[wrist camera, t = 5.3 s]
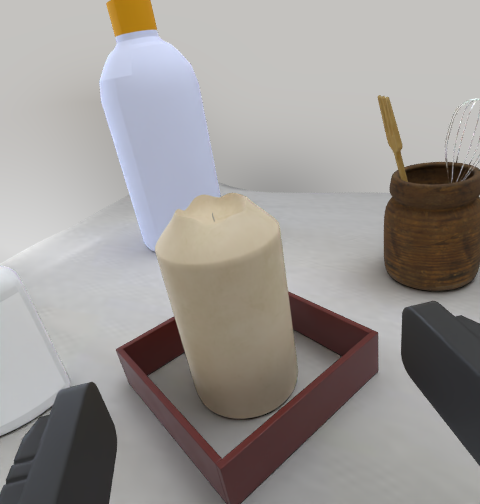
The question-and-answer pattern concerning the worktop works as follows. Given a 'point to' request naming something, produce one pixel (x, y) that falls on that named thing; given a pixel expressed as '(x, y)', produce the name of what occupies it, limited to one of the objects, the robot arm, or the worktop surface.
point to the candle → (231, 303)
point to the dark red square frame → (281, 423)
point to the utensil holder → (431, 217)
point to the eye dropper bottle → (25, 357)
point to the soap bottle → (155, 120)
